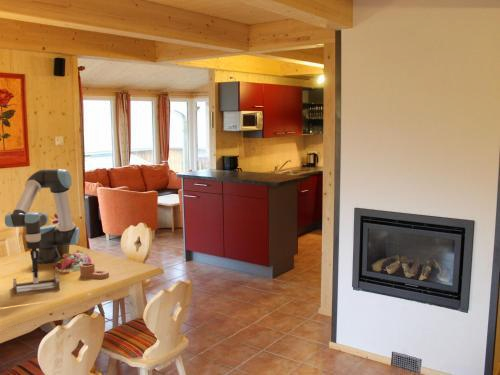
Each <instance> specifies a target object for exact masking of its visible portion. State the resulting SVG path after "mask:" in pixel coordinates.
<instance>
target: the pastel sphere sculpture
mask: <svg viewBox="0 0 500 375" xmlns="http://www.w3.org/2000/svg"><path fill="white" fill-rule="evenodd" d="M83 252H84V251H81V250H80V249H77V250H76V251H75V252H73V254H72V253H69V254H63V255H62V256H61V257H63V258H60V260H59V261H58V262H57V263H56V262H55V264H54V266H53V268H55V270H56V271H58V272H60V273H70V272H71V273H72V272H78V271H79V272H80V265H81V264H83V263H93V262H92V259H91V257H90V256H91V255H90V254H89V253H85V256H84V254H83Z"/></svg>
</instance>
